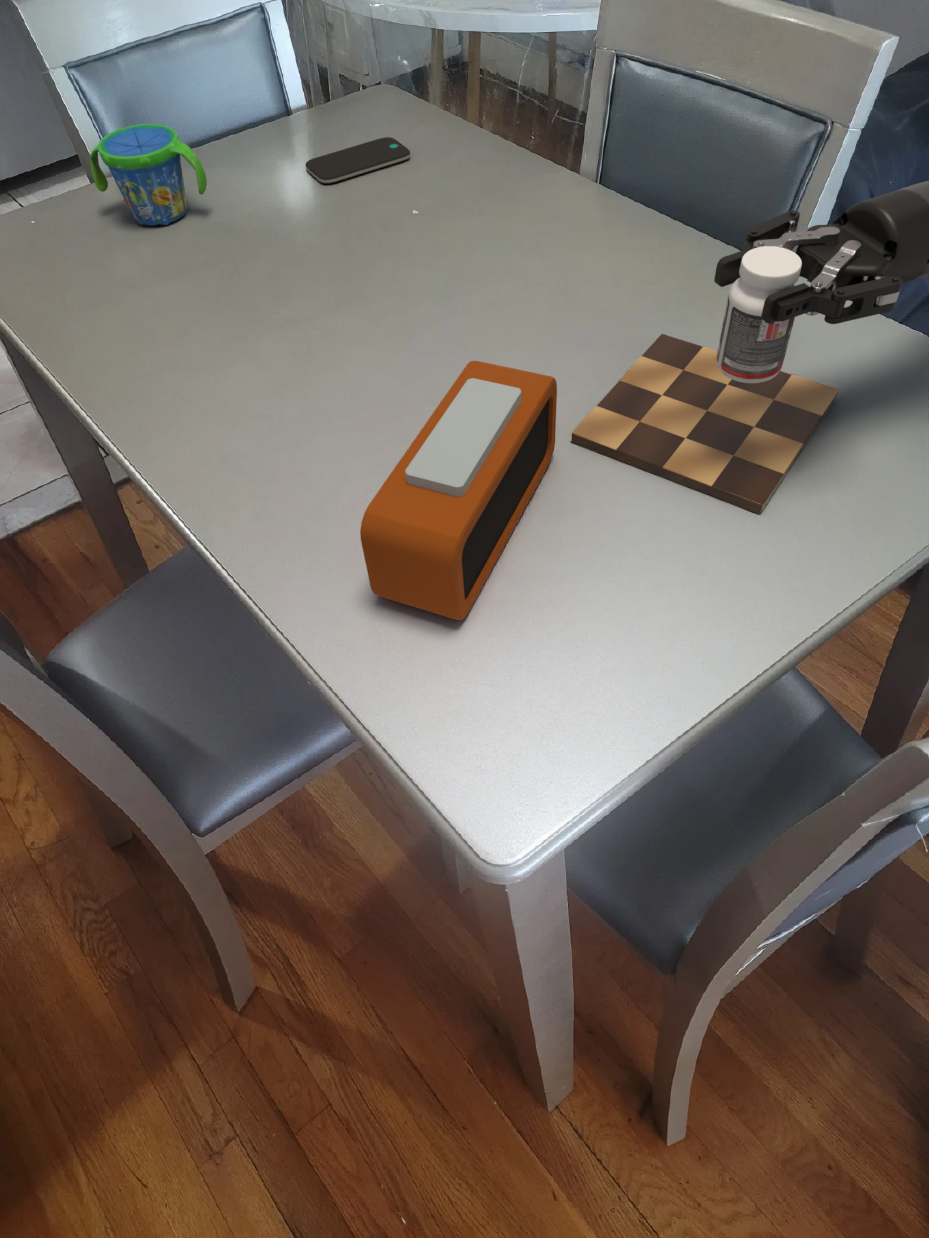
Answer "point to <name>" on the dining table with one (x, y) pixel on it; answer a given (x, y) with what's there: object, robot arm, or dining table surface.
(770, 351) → the pill bottle
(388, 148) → the smartphone
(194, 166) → the snack cup
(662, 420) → the chessboard
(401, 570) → the alarm clock
